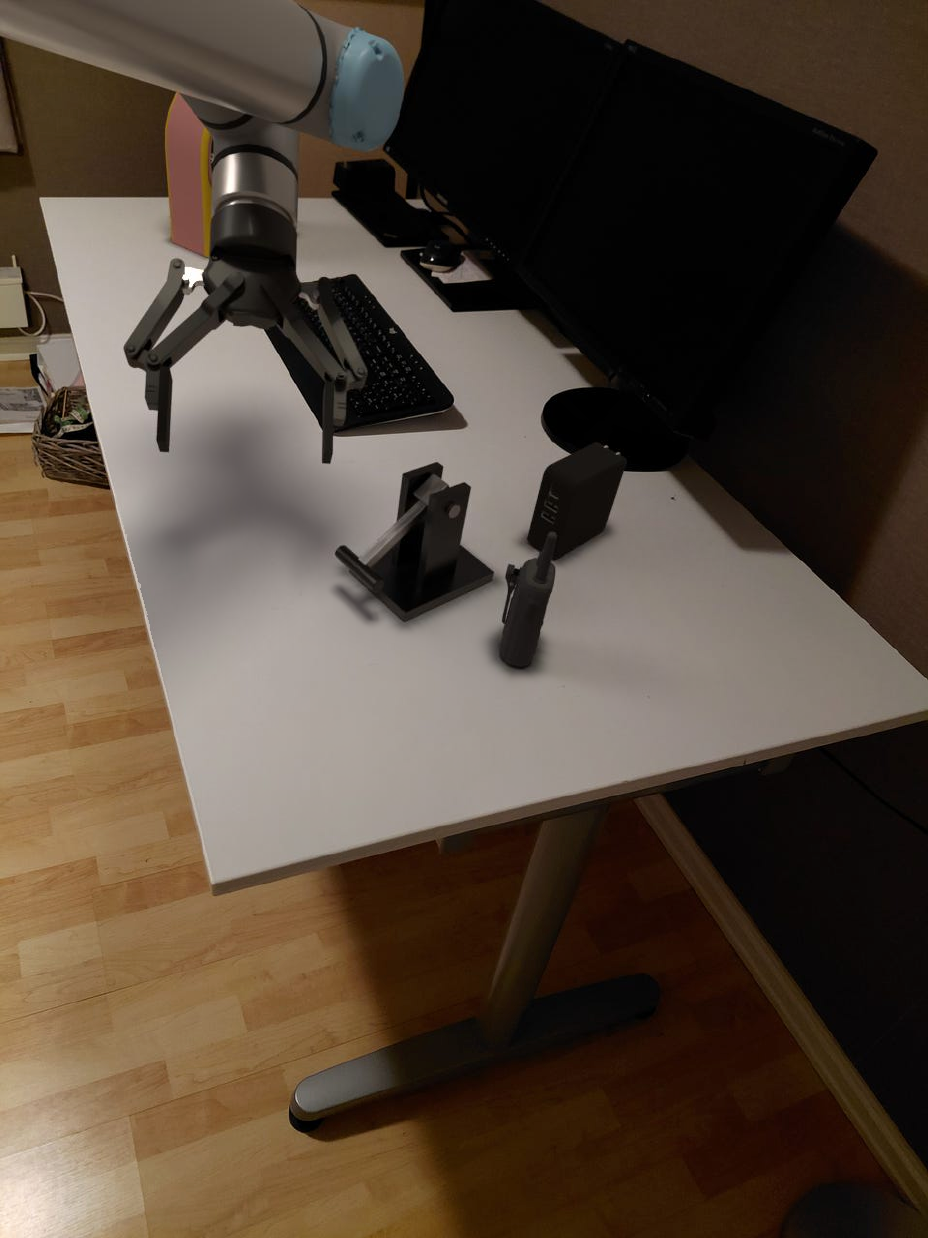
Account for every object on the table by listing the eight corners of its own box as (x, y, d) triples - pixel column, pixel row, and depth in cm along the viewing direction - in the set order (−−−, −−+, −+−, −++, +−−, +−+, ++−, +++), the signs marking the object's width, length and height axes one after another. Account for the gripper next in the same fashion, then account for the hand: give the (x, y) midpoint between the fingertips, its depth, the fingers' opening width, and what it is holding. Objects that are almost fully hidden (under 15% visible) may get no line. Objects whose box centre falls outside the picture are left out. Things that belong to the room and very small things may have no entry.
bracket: (404, 622, 82) (418, 523, 74) (348, 571, 86) (357, 473, 78) (492, 580, 89) (514, 486, 81) (437, 535, 93) (452, 442, 85)
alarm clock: (208, 258, 140) (200, 73, 123) (169, 240, 143) (156, 58, 126) (294, 234, 154) (297, 66, 137) (257, 219, 157) (255, 52, 140)
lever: (378, 597, 79) (368, 585, 77) (340, 562, 82) (330, 550, 80) (468, 508, 81) (461, 494, 78) (428, 477, 83) (420, 463, 81)
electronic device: (525, 542, 95) (544, 466, 88) (577, 512, 101) (599, 439, 94) (553, 561, 93) (575, 485, 86) (605, 530, 99) (629, 456, 92)
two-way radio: (530, 674, 79) (567, 548, 69) (484, 663, 79) (515, 535, 69) (536, 635, 83) (573, 511, 73) (492, 625, 83) (523, 499, 74)
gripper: (386, 266, 82) (385, 476, 79) (112, 231, 76) (98, 456, 73) (399, 219, 75) (398, 448, 71) (96, 176, 69) (80, 424, 66)
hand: (246, 453), depth 72 cm, fingers open, 13 cm apart
